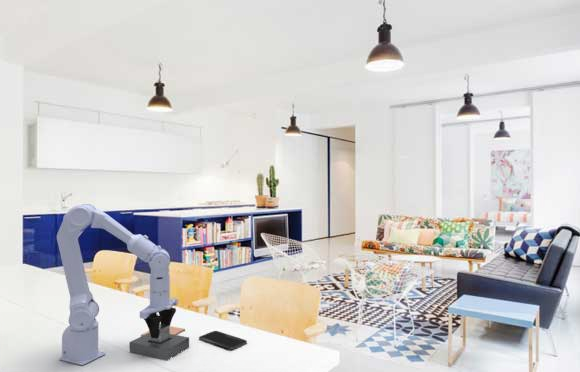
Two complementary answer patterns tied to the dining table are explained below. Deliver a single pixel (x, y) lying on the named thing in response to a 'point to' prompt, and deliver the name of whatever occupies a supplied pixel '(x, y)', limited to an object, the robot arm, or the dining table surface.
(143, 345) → the socket plate
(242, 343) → the phone
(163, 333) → the steel peg
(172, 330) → the mat
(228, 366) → the dining table surface
